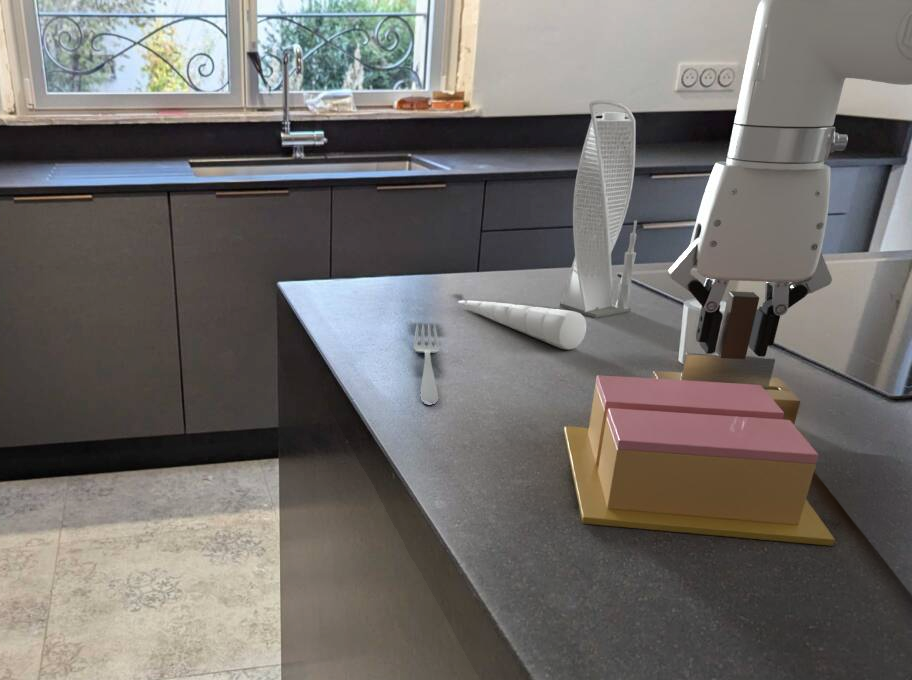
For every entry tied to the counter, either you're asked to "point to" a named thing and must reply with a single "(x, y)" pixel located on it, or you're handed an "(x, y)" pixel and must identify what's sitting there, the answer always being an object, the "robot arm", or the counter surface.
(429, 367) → the fork
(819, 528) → the cake
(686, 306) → the shot glass
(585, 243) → the skyscraper
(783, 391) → the knife stand
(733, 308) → the knife
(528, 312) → the unicorn horn
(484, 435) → the counter surface
